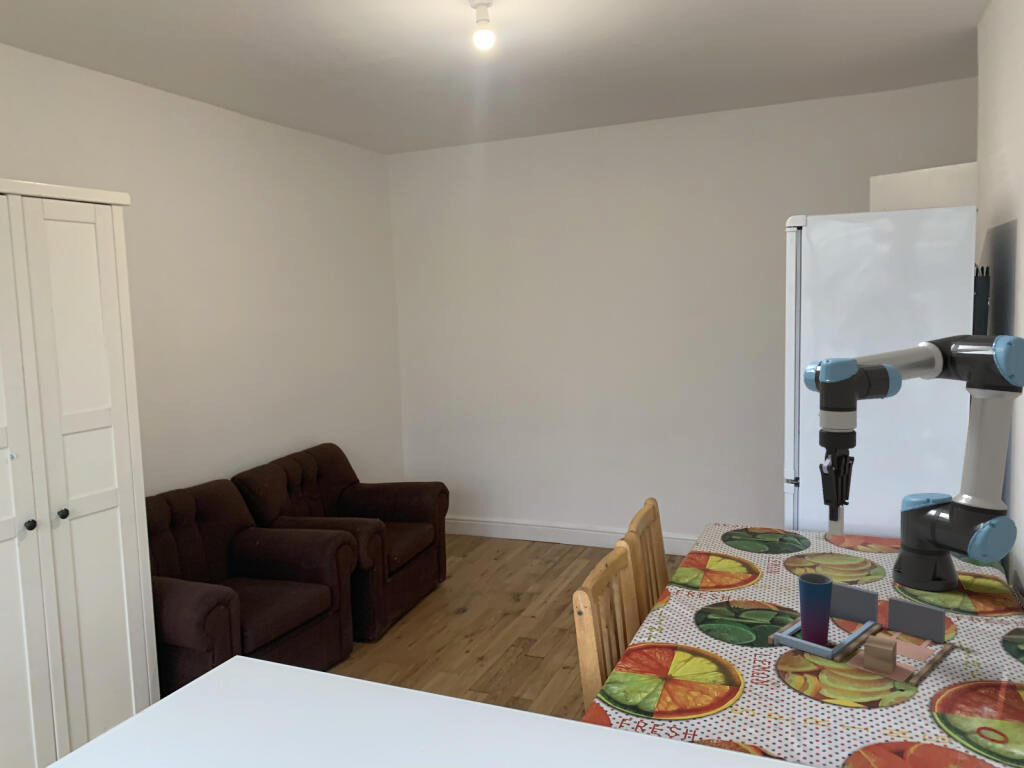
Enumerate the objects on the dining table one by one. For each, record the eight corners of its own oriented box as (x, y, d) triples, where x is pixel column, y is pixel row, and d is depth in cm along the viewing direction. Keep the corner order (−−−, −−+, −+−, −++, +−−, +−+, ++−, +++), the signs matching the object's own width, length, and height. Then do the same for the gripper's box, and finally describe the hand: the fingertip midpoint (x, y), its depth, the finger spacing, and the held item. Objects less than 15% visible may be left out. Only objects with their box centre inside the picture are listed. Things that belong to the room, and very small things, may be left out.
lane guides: (815, 612, 181) (815, 606, 181) (953, 650, 160) (953, 643, 160) (768, 643, 166) (768, 636, 166) (914, 690, 144) (914, 682, 144)
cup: (834, 653, 160) (835, 584, 159) (800, 651, 162) (801, 583, 160) (828, 639, 167) (829, 573, 165) (795, 637, 168) (796, 572, 167)
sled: (823, 611, 181) (823, 579, 180) (877, 626, 172) (878, 592, 172) (774, 645, 165) (774, 609, 164) (831, 663, 156) (831, 625, 155)
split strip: (890, 631, 170) (891, 596, 170) (944, 645, 162) (945, 609, 162) (844, 668, 154) (845, 630, 153) (902, 687, 146) (903, 647, 145)
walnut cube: (869, 658, 156) (869, 635, 155) (896, 664, 153) (896, 640, 152) (863, 668, 152) (864, 644, 151) (891, 674, 149) (892, 650, 148)
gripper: (833, 423, 174) (831, 524, 176) (807, 431, 165) (806, 537, 167) (867, 426, 168) (865, 530, 171) (842, 434, 159) (840, 544, 162)
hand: (835, 534), depth 169 cm, fingers closed
